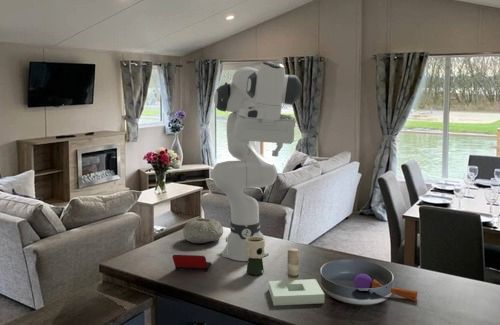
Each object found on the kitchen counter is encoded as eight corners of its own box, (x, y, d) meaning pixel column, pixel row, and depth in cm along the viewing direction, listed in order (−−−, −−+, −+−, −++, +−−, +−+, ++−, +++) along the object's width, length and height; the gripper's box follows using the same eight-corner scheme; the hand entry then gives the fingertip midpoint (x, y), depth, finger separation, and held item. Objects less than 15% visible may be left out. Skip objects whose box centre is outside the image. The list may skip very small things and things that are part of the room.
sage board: (268, 289, 159) (268, 281, 159) (315, 287, 161) (315, 279, 160) (273, 305, 147) (273, 296, 147) (324, 303, 149) (324, 294, 148)
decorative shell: (208, 232, 224) (208, 212, 222) (231, 241, 210) (231, 219, 209) (175, 240, 212) (175, 218, 211) (198, 250, 199) (197, 227, 197)
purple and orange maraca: (415, 293, 146) (352, 277, 155) (413, 309, 148) (351, 293, 157) (418, 283, 151) (357, 268, 160) (417, 299, 153) (356, 283, 162)
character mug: (256, 280, 167) (255, 244, 165) (239, 276, 171) (238, 241, 169) (270, 270, 176) (270, 236, 174) (254, 266, 180) (254, 233, 178)
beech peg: (286, 281, 166) (286, 248, 164) (297, 281, 166) (297, 248, 164) (288, 286, 162) (288, 252, 160) (299, 285, 162) (299, 252, 160)
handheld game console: (212, 264, 183) (211, 246, 182) (205, 275, 172) (205, 256, 171) (180, 263, 185) (180, 245, 184) (172, 274, 174) (171, 254, 173)
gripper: (292, 114, 158) (287, 155, 161) (234, 109, 151) (229, 151, 154) (300, 117, 152) (294, 159, 155) (239, 111, 146) (234, 155, 148)
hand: (261, 155), depth 154 cm, fingers open, 8 cm apart
